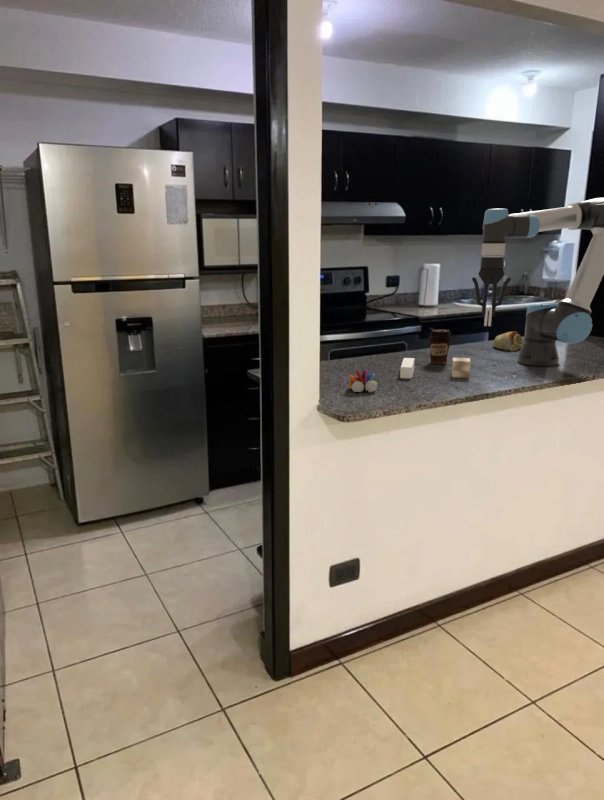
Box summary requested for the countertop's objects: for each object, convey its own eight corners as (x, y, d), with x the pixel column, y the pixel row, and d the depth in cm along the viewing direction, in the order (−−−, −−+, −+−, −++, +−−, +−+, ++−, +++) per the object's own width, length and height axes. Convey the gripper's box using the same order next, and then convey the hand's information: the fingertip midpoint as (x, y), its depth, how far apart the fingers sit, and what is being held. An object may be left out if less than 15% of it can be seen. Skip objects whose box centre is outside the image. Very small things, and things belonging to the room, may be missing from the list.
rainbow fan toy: (346, 387, 200) (346, 366, 198) (374, 386, 201) (375, 365, 199) (350, 394, 192) (350, 372, 190) (379, 393, 193) (380, 371, 191)
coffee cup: (449, 365, 230) (451, 332, 227) (428, 364, 232) (429, 331, 228) (449, 360, 239) (451, 328, 235) (428, 360, 240) (429, 328, 237)
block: (468, 374, 217) (469, 358, 215) (469, 378, 211) (470, 361, 210) (451, 373, 218) (452, 357, 217) (451, 377, 213) (452, 360, 211)
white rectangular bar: (414, 368, 226) (414, 358, 225) (411, 378, 211) (412, 367, 210) (403, 368, 227) (403, 357, 226) (400, 377, 212) (400, 367, 211)
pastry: (523, 352, 255) (525, 333, 253) (493, 350, 258) (494, 332, 256) (521, 346, 268) (522, 328, 266) (492, 344, 271) (493, 327, 269)
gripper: (512, 255, 203) (506, 324, 210) (471, 255, 206) (466, 323, 213) (515, 256, 196) (508, 327, 203) (472, 256, 199) (467, 326, 206)
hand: (487, 325), depth 208 cm, fingers closed
